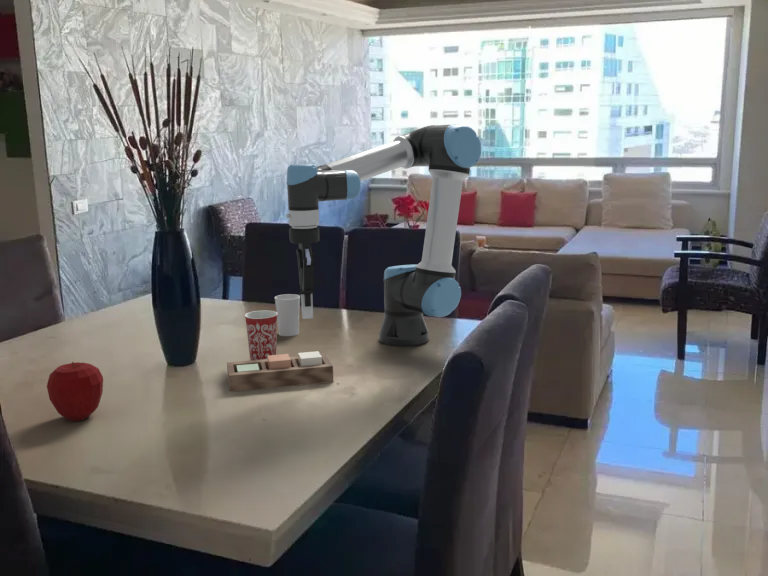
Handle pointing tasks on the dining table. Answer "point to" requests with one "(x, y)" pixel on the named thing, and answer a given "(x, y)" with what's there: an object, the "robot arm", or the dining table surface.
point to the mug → (261, 333)
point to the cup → (288, 314)
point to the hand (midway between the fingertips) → (307, 317)
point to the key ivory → (309, 358)
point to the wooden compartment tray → (278, 375)
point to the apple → (75, 390)
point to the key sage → (247, 367)
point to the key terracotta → (279, 361)
